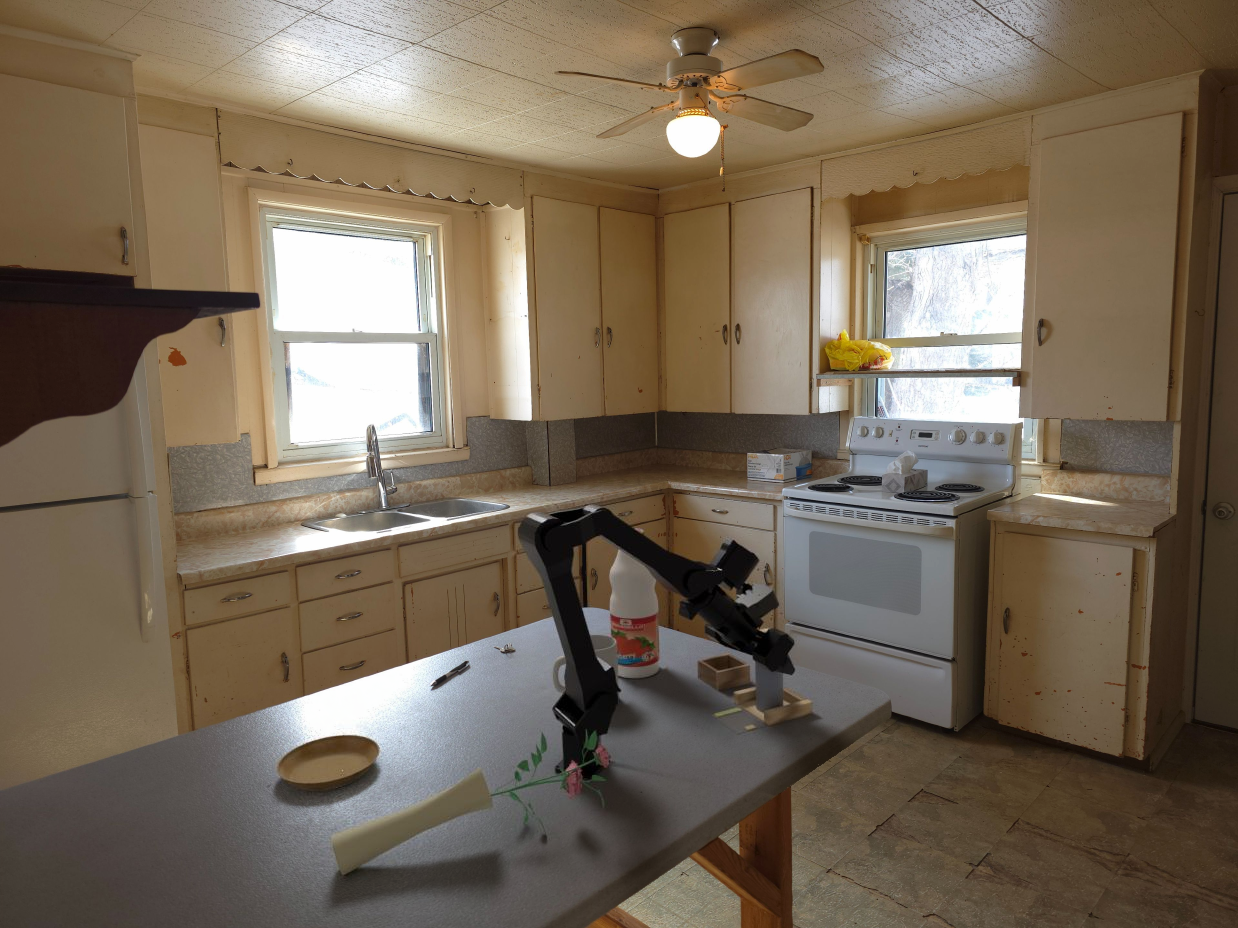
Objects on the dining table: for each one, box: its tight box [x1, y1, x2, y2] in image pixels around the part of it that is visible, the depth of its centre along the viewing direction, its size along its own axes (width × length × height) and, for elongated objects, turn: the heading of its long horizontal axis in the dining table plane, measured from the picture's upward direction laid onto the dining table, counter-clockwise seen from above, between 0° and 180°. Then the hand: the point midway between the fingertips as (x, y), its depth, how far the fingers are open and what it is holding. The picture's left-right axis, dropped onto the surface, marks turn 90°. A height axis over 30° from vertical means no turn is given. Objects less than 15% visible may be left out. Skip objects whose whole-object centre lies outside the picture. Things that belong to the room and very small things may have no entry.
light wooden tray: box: [733, 685, 813, 727], centre depth 137 cm, size 9×10×3 cm
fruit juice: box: [609, 527, 661, 679], centre depth 156 cm, size 9×9×28 cm
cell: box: [754, 628, 784, 713], centre depth 136 cm, size 5×5×14 cm
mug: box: [552, 634, 620, 698], centre depth 142 cm, size 12×8×11 cm
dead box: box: [697, 652, 751, 692], centre depth 149 cm, size 7×7×4 cm
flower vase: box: [330, 730, 610, 876], centre depth 102 cm, size 12×12×35 cm
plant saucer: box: [276, 734, 381, 792], centre depth 122 cm, size 15×15×3 cm
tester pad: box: [710, 706, 768, 735], centre depth 133 cm, size 6×8×1 cm
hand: (776, 663), depth 136 cm, fingers open, 9 cm apart
